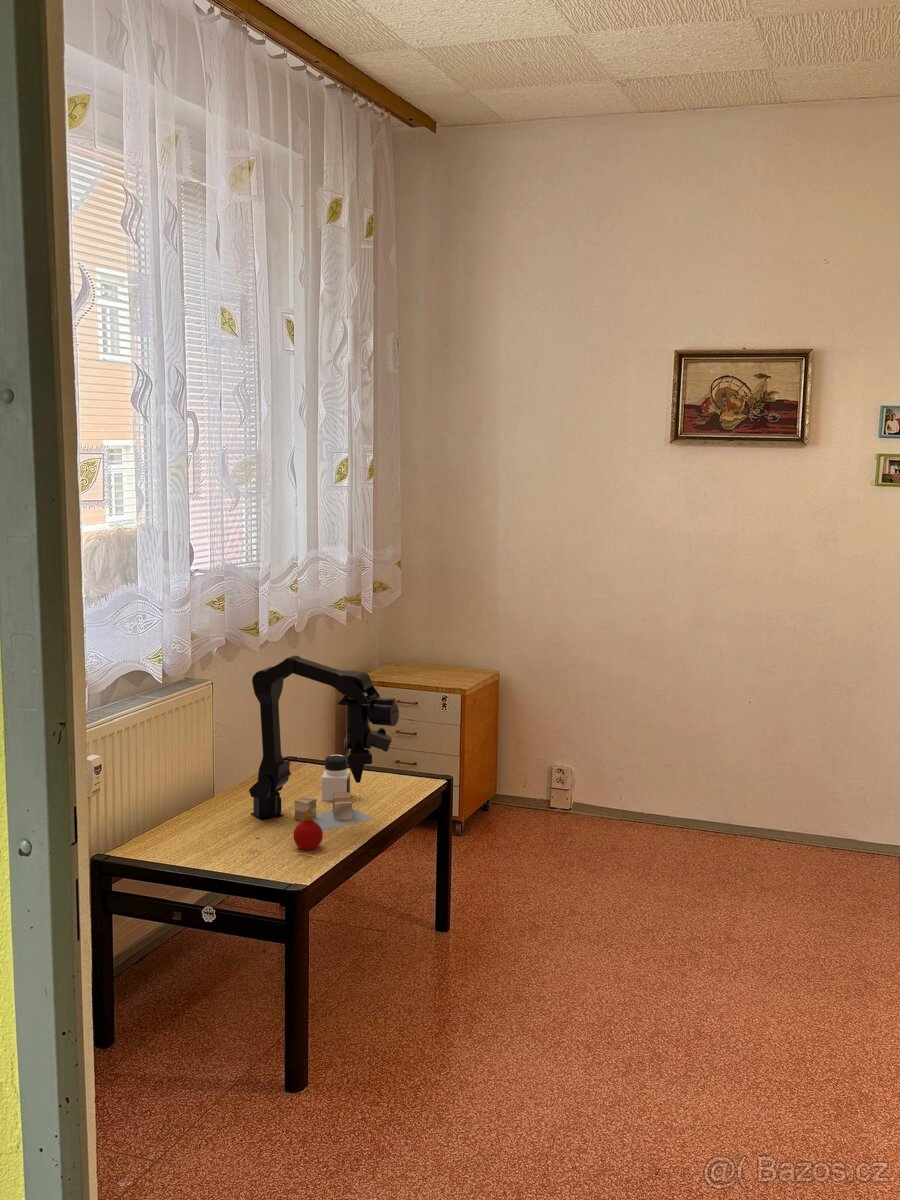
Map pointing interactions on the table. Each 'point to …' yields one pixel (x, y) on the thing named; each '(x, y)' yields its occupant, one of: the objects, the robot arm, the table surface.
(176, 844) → the table surface
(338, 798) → the walnut block
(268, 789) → the robot arm
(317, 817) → the mat
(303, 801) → the maple block
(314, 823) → the christmas ornament
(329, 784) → the medicine bottle
